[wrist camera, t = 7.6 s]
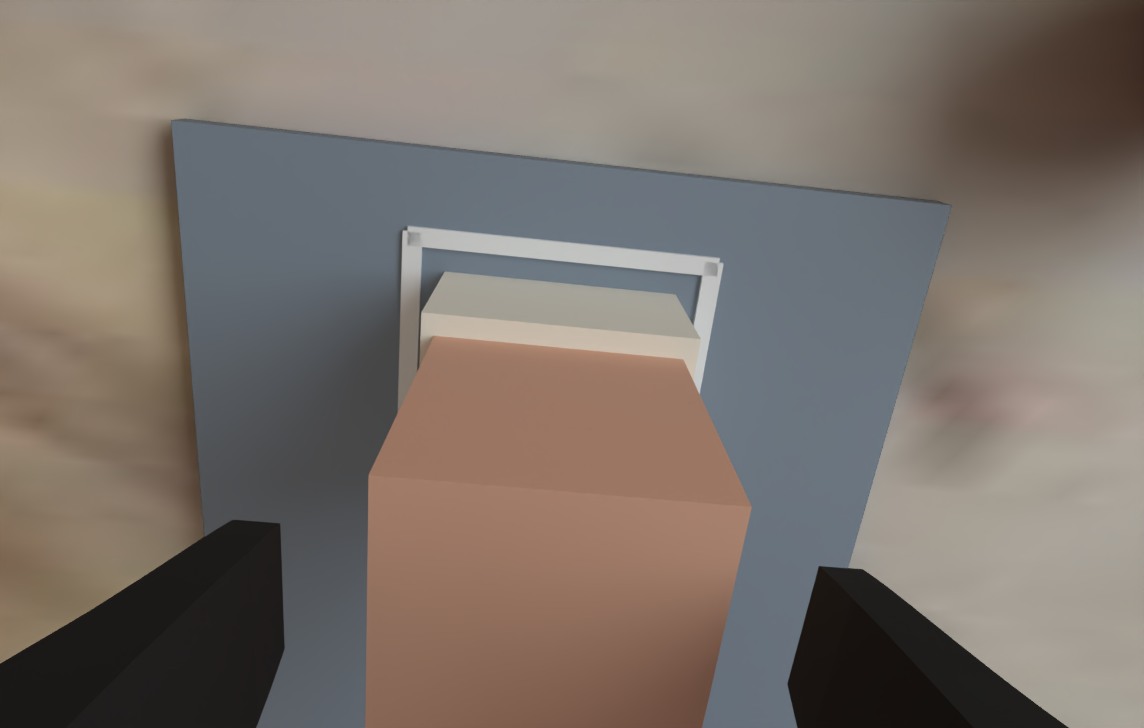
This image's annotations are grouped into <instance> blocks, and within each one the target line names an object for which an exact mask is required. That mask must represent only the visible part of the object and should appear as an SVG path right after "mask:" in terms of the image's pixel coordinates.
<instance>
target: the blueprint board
mask: <svg viewBox="0 0 1144 728" xmlns="http://www.w3.org/2000/svg"><path fill="white" fill-rule="evenodd" d="M171 124H172V137H173V149H174V162H175V175H176V187H177V200H178V212H179V225H180V238H181V250H182V263H183V275H184V288H185V300H186V313H187V326H188V338H189V351H190V363H191V376H192V388H193V401H194V414H195V426H196V439H197V451H198V464H199V477H200V489H201V502H202V514H203V527H204V537H205V536H207V535H208V534H210V533H211V532H213V531H215V530H216V529H218V528H219V527H221V526H223V525H224V524H226V523H228V522H230V521H231V520H245V521H258V522H270V523H280V529H281V557H282V586H283V614H284V643H285V650H284V653H283V655H282V658H281V661H280V664H279V667H278V670H277V673H276V676H275V678H274V681H273V684H272V687H271V690H270V693H269V695H268V698H267V701H266V703H265V706H264V709H263V711H262V714H261V717H260V719H259V722H258V725H257V727H256V728H365V714H366V635H367V557H368V478H369V473H370V471H371V469H372V467H373V465H374V462H375V460H376V458H377V456H378V454H379V452H380V450H381V448H382V446H383V443H384V441H385V439H386V437H387V435H388V433H389V431H390V429H391V426H392V424H393V422H394V420H395V418H396V416H397V414H398V412H399V409H400V407H401V405H402V403H403V401H404V399H405V397H406V395H407V393H408V390H409V388H410V386H411V384H412V382H413V380H414V378H415V376H416V373H417V371H418V369H419V367H420V365H421V363H422V361H423V359H424V356H425V354H426V352H427V350H428V348H429V346H430V344H431V342H432V339H433V337H434V336H444V337H454V338H465V339H475V340H486V341H496V342H507V343H517V344H528V345H538V346H549V347H560V348H570V349H581V350H591V351H602V352H612V353H623V354H633V355H644V356H655V357H665V358H676V359H683V360H684V362H685V364H686V366H687V368H688V371H689V373H690V375H691V377H692V379H693V381H694V383H695V386H696V388H697V390H698V392H699V394H700V396H701V399H702V401H703V403H704V405H705V407H706V409H707V411H708V414H709V416H710V418H711V420H712V422H713V424H714V427H715V429H716V431H717V433H718V435H719V437H720V439H721V442H722V444H723V446H724V448H725V450H726V452H727V455H728V457H729V459H730V461H731V463H732V465H733V467H734V470H735V472H736V474H737V476H738V478H739V480H740V483H741V485H742V487H743V489H744V491H745V493H746V495H747V498H748V500H749V502H750V504H751V506H752V509H751V513H750V518H749V522H748V526H747V531H746V535H745V540H744V544H743V549H742V553H741V558H740V562H739V566H738V571H737V575H736V580H735V584H734V589H733V593H732V598H731V602H730V607H729V611H728V615H727V620H726V624H725V629H724V633H723V638H722V642H721V647H720V651H719V656H718V660H717V664H716V669H715V673H714V678H713V682H712V687H711V691H710V696H709V700H708V704H707V709H706V713H705V718H704V722H703V727H702V728H797V724H796V720H795V716H794V711H793V707H792V702H791V698H790V694H789V689H788V685H787V683H788V679H789V676H790V672H791V668H792V664H793V661H794V657H795V653H796V649H797V646H798V642H799V638H800V635H801V631H802V627H803V623H804V620H805V616H806V612H807V608H808V605H809V601H810V597H811V593H812V590H813V586H814V582H815V579H816V575H817V571H818V567H819V566H826V567H838V568H848V566H849V563H850V559H851V556H852V552H853V549H854V545H855V542H856V538H857V535H858V531H859V528H860V524H861V521H862V517H863V514H864V510H865V507H866V503H867V500H868V496H869V493H870V490H871V486H872V483H873V479H874V476H875V472H876V469H877V465H878V462H879V458H880V455H881V451H882V448H883V444H884V441H885V437H886V434H887V430H888V427H889V423H890V420H891V416H892V413H893V409H894V406H895V402H896V399H897V395H898V392H899V388H900V385H901V381H902V378H903V375H904V371H905V368H906V364H907V361H908V357H909V354H910V350H911V347H912V343H913V340H914V336H915V333H916V329H917V326H918V322H919V319H920V315H921V312H922V308H923V305H924V301H925V298H926V294H927V291H928V287H929V284H930V280H931V277H932V273H933V270H934V267H935V263H936V260H937V256H938V253H939V249H940V246H941V242H942V239H943V235H944V232H945V228H946V225H947V221H948V218H949V214H950V211H951V207H952V205H948V204H945V203H942V202H939V201H931V200H922V199H913V198H904V197H894V196H885V195H876V194H867V193H858V192H849V191H840V190H831V189H821V188H812V187H803V186H794V185H785V184H776V183H767V182H757V181H748V180H739V179H730V178H721V177H712V176H703V175H694V174H684V173H675V172H666V171H657V170H648V169H639V168H630V167H620V166H611V165H602V164H593V163H584V162H575V161H566V160H557V159H547V158H538V157H529V156H520V155H511V154H502V153H493V152H483V151H474V150H465V149H456V148H447V147H438V146H429V145H420V144H410V143H401V142H392V141H383V140H374V139H365V138H356V137H347V136H337V135H328V134H319V133H310V132H301V131H292V130H283V129H273V128H264V127H255V126H246V125H237V124H228V123H219V122H210V121H200V120H191V119H179V120H171Z"/></svg>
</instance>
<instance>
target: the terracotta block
mask: <svg viewBox="0 0 1144 728" xmlns="http://www.w3.org/2000/svg"><path fill="white" fill-rule="evenodd" d="M751 509H752V506H751V504H750V502H749V500H748V498H747V495H746V493H745V491H744V489H743V487H742V485H741V483H740V480H739V478H738V476H737V474H736V472H735V470H734V467H733V465H732V463H731V461H730V459H729V457H728V455H727V452H726V450H725V448H724V446H723V444H722V442H721V439H720V437H719V435H718V433H717V431H716V429H715V427H714V424H713V422H712V420H711V418H710V416H709V414H708V411H707V409H706V407H705V405H704V403H703V401H702V399H701V396H700V394H699V392H698V390H697V388H696V386H695V383H694V381H693V379H692V377H691V375H690V373H689V371H688V368H687V366H686V364H685V362H684V360H683V359H676V358H665V357H655V356H644V355H633V354H623V353H612V352H602V351H591V350H581V349H570V348H560V347H549V346H538V345H528V344H517V343H507V342H496V341H486V340H475V339H465V338H454V337H444V336H434V337H433V339H432V342H431V344H430V346H429V348H428V350H427V352H426V354H425V356H424V359H423V361H422V363H421V365H420V367H419V369H418V371H417V373H416V376H415V378H414V380H413V382H412V384H411V386H410V388H409V390H408V393H407V395H406V397H405V399H404V401H403V403H402V405H401V407H400V409H399V412H398V414H397V416H396V418H395V420H394V422H393V424H392V426H391V429H390V431H389V433H388V435H387V437H386V439H385V441H384V443H383V446H382V448H381V450H380V452H379V454H378V456H377V458H376V460H375V462H374V465H373V467H372V469H371V471H370V473H369V478H368V557H367V635H366V714H365V728H702V727H703V722H704V718H705V713H706V709H707V704H708V700H709V696H710V691H711V687H712V682H713V678H714V673H715V669H716V664H717V660H718V656H719V651H720V647H721V642H722V638H723V633H724V629H725V624H726V620H727V615H728V611H729V607H730V602H731V598H732V593H733V589H734V584H735V580H736V575H737V571H738V566H739V562H740V558H741V553H742V549H743V544H744V540H745V535H746V531H747V526H748V522H749V518H750V513H751Z"/></svg>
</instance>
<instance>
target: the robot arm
mask: <svg viewBox="0 0 1144 728" xmlns="http://www.w3.org/2000/svg"><path fill="white" fill-rule="evenodd" d="M284 650H285V643H284V614H283V586H282V557H281V529H280V523H270V522H258V521H245V520H231V521H230V522H228V523H226V524H224V525H223V526H221V527H219V528H218V529H216V530H215V531H213V532H211V533H210V534H208V535H207V536H205V537H204V538H202V539H200V540H199V541H197V542H196V543H194V544H193V545H191V546H190V547H188V548H187V549H185V550H184V551H182V552H181V553H179V554H178V555H176V556H175V557H173V558H171V559H170V560H168V561H167V562H165V563H164V564H162V565H161V566H159V567H158V568H156V569H155V570H153V571H152V572H150V573H149V574H147V575H145V576H144V577H142V578H141V579H139V580H138V581H136V582H134V583H133V584H131V585H130V586H128V587H127V588H125V589H124V590H122V591H120V592H119V593H117V594H116V595H114V596H113V597H111V598H109V599H108V600H106V601H105V602H103V603H102V604H100V605H99V606H97V607H95V608H94V609H92V610H91V611H89V612H87V613H86V614H84V615H82V616H80V617H79V618H77V619H75V620H74V621H72V622H70V623H69V624H67V625H65V626H63V627H62V628H60V629H58V630H57V631H55V632H53V633H52V634H50V635H48V636H47V637H45V638H43V639H41V640H40V641H38V642H36V643H35V644H33V645H31V646H30V647H28V648H26V649H24V650H23V651H21V652H19V653H18V654H16V655H14V656H13V657H11V658H9V659H7V660H6V661H4V662H2V663H1V664H0V728H256V727H257V725H258V722H259V719H260V717H261V714H262V711H263V709H264V706H265V703H266V701H267V698H268V695H269V693H270V690H271V687H272V684H273V681H274V678H275V676H276V673H277V670H278V667H279V664H280V661H281V658H282V655H283V653H284ZM787 685H788V689H789V694H790V698H791V702H792V707H793V711H794V716H795V720H796V724H797V728H1068V727H1067V726H1066V725H1064V724H1063V723H1061V722H1060V721H1059V720H1057V719H1056V718H1054V717H1053V716H1052V715H1050V714H1049V713H1048V712H1046V711H1045V710H1043V709H1042V708H1041V707H1039V706H1038V705H1037V704H1035V703H1034V702H1033V701H1031V700H1030V699H1029V698H1027V697H1026V696H1025V695H1023V694H1022V693H1021V692H1019V691H1018V690H1017V689H1016V688H1014V687H1013V686H1012V685H1010V684H1009V683H1008V682H1006V681H1005V680H1004V679H1003V678H1001V677H1000V676H999V675H997V674H996V673H995V672H993V671H992V670H991V669H990V668H988V667H987V666H986V665H985V664H983V663H982V662H981V661H980V660H978V659H977V658H976V657H974V656H973V655H972V654H971V653H969V652H968V651H967V650H966V649H964V648H963V647H962V646H961V645H959V644H958V643H957V642H956V641H954V640H953V639H952V638H951V637H949V636H948V635H947V634H946V633H944V632H943V631H942V630H941V629H939V628H938V627H937V626H936V625H934V624H933V623H932V622H931V621H929V620H928V619H927V618H926V617H925V616H923V615H922V614H921V613H920V612H918V611H917V610H916V609H915V608H913V607H912V606H911V605H910V604H908V603H907V602H906V601H904V600H903V599H902V598H901V597H899V596H898V595H897V594H896V593H894V592H893V591H892V590H890V589H889V588H888V587H887V586H885V585H884V584H883V583H881V582H880V581H878V580H877V579H876V578H874V577H873V576H871V575H870V574H869V573H867V572H866V571H864V570H863V569H851V568H838V567H826V566H819V567H818V571H817V575H816V579H815V582H814V586H813V590H812V593H811V597H810V601H809V605H808V608H807V612H806V616H805V620H804V623H803V627H802V631H801V635H800V638H799V642H798V646H797V649H796V653H795V657H794V661H793V664H792V668H791V672H790V676H789V679H788V683H787Z"/></svg>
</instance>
